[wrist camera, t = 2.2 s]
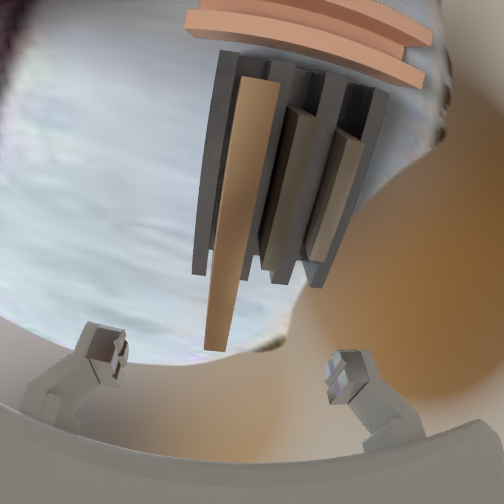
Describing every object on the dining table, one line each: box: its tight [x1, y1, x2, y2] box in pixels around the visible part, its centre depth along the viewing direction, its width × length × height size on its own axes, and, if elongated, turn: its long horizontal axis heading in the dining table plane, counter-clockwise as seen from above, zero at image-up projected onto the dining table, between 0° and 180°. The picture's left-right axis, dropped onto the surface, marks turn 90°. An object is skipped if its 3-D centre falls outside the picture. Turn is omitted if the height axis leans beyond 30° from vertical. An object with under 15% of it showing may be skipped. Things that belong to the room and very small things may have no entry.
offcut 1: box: [258, 105, 320, 272], centre depth 26 cm, size 2×14×8 cm, turn 170°
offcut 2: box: [303, 126, 365, 262], centre depth 27 cm, size 2×12×7 cm, turn 170°
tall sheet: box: [204, 76, 281, 352], centre depth 22 cm, size 2×18×16 cm, turn 170°
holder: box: [184, 0, 434, 90], centre depth 19 cm, size 21×7×6 cm, turn 80°
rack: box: [192, 50, 389, 288], centre depth 28 cm, size 15×22×6 cm
